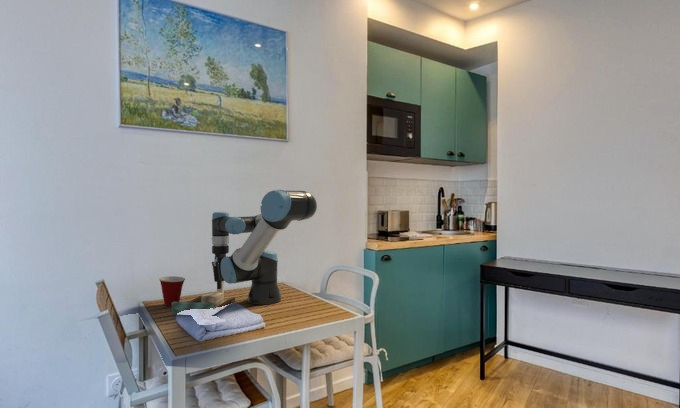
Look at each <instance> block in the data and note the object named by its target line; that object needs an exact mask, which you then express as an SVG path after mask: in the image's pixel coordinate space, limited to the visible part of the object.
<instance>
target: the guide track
mask: <svg viewBox="0 0 680 408" xmlns="http://www.w3.org/2000/svg"><path fill="white" fill-rule="evenodd" d="M201 296H202V295H199V296H197V297H195V298H194V299H192V300H189V301H179V302H172V306H171V316H177V313H179V312H181V311H184V310H190V309H210V308H216V307H222V306H225V305H228V304H231V303H233V304H234V303H236V297H234V296H232V297H230V298H229V299H227V300H224V303H222V304H220V305H218V306H216V307H215V306H214V303H201ZM231 305H232V304H231Z"/></svg>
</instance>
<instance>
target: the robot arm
mask: <svg viewBox="0 0 680 408" xmlns="http://www.w3.org/2000/svg"><path fill="white" fill-rule="evenodd" d="M260 203H261V205H260V213H259V214H257V215H253V216H230V214H229V212H227V211H214V212H213V213H212V216H211V217H212V219H211V236H212V237H211V244H212V246H211V253H212V254H213V255H214V261H211V264H212V271H213V277H214V278H213V279H214V282H216V293H224V292H225V291H224V290H225V288H224V287H225V285H224V284H225V283H226V284H229V285H230V284H231V285H232V284H238V283H244V282H249V281H251V286H250V289H249V292H248V295H247V302H248V303H250V304H253V305H273V304H277V303H279V302H280V301H282V293H281V292H280V288H279V285H278V254H277V253H276V252H275V251H271V250H270V251H269V250H266V249H267V248H268V247H269V245H270V244H271V242H272V241H273V240H274V239H275V237H276V236H277V234H279V232H280V231H282V230H283V231H284V230H285V229H287V228H288V226H289V225H290V224H291V223H292V221H299V222H300V221H304V220H308V219H310V218H312V217H314V215H315V213H316V212H317V208H318V206H317V199H316V198H315V196H314V195H312V194H311V192H308V191H305V190H284V189H276V190H271V191H267V193H266V194H265V195H264V196H263V197H262V200H261V202H260ZM247 233H250V235H248V237H247V239H246V240H245V242H244V243H243V245H242V246H241V247H239V248H238V247H237V248H236V249H235V250H234V251H233V253H232V254H231V255H230V256H228V255H226V254H229V253H230V252H229V251H230V246H229V245H230V235H240V234H247ZM224 294H225V293H224Z"/></svg>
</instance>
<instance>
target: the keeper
mask: <svg viewBox="0 0 680 408" xmlns="http://www.w3.org/2000/svg"><path fill="white" fill-rule="evenodd" d="M200 296H201V302H200V303H214V308H215V307H217V306H219V305H220V304H222V303H224V302H225V293H217V291H216V292H213V291H209V292H207V293H205V294H202V295H200Z"/></svg>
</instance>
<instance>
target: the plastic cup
mask: <svg viewBox="0 0 680 408" xmlns="http://www.w3.org/2000/svg"><path fill="white" fill-rule="evenodd" d="M158 279H159V281H160V286H161V292H162V297H163V303H164V306H166V307H172V302H181V301H180V300H181V295H182V290H183V286H184V283H185V280H186V277H183V276H175V275H174V276H173V275H172V276H171V275H169V276H167V275H166V276H161V277H159V278H158Z"/></svg>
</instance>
